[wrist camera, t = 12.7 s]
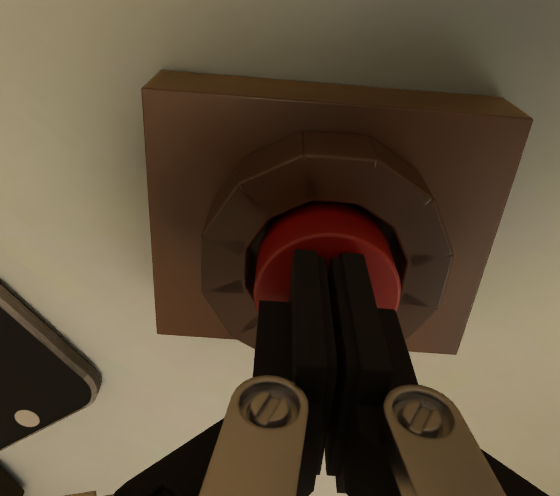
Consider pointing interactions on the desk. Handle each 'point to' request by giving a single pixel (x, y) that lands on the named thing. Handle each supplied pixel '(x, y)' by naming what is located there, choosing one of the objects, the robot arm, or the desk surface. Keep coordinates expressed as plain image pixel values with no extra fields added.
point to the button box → (322, 190)
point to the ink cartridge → (9, 485)
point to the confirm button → (325, 250)
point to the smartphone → (37, 374)
